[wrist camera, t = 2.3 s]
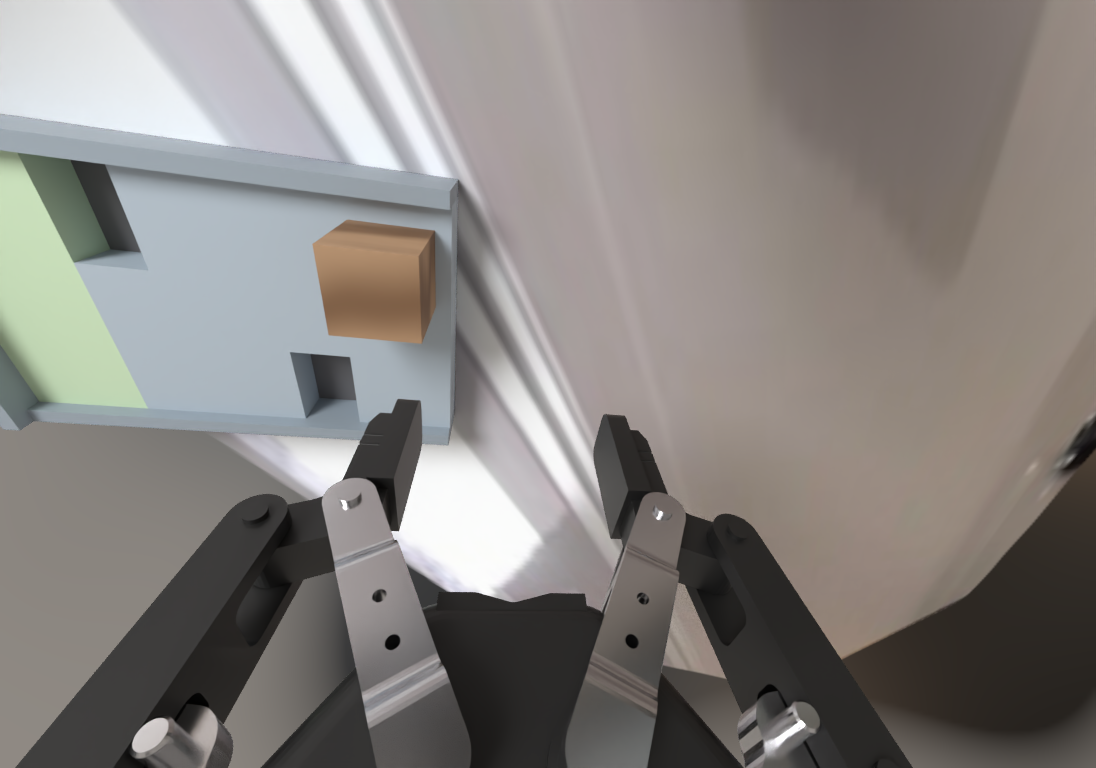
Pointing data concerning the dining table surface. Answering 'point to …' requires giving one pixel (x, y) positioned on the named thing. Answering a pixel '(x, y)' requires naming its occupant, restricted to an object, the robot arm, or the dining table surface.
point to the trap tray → (202, 287)
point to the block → (377, 280)
